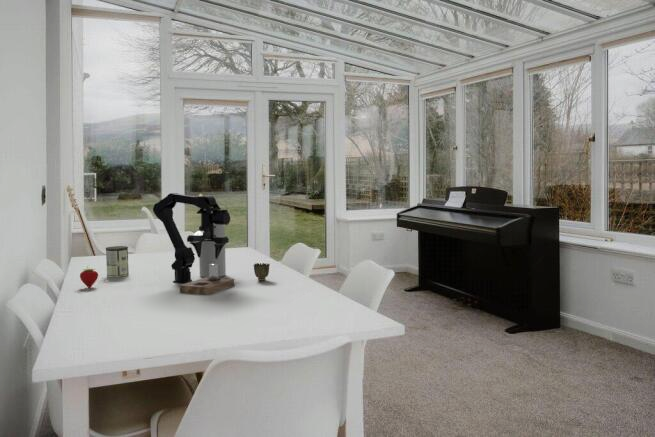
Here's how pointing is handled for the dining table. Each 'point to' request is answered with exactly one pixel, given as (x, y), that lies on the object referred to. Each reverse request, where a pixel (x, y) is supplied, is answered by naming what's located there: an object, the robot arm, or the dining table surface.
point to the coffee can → (117, 261)
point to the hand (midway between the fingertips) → (207, 258)
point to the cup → (261, 271)
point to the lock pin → (213, 272)
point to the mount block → (206, 286)
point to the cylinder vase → (212, 254)
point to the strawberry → (89, 277)
